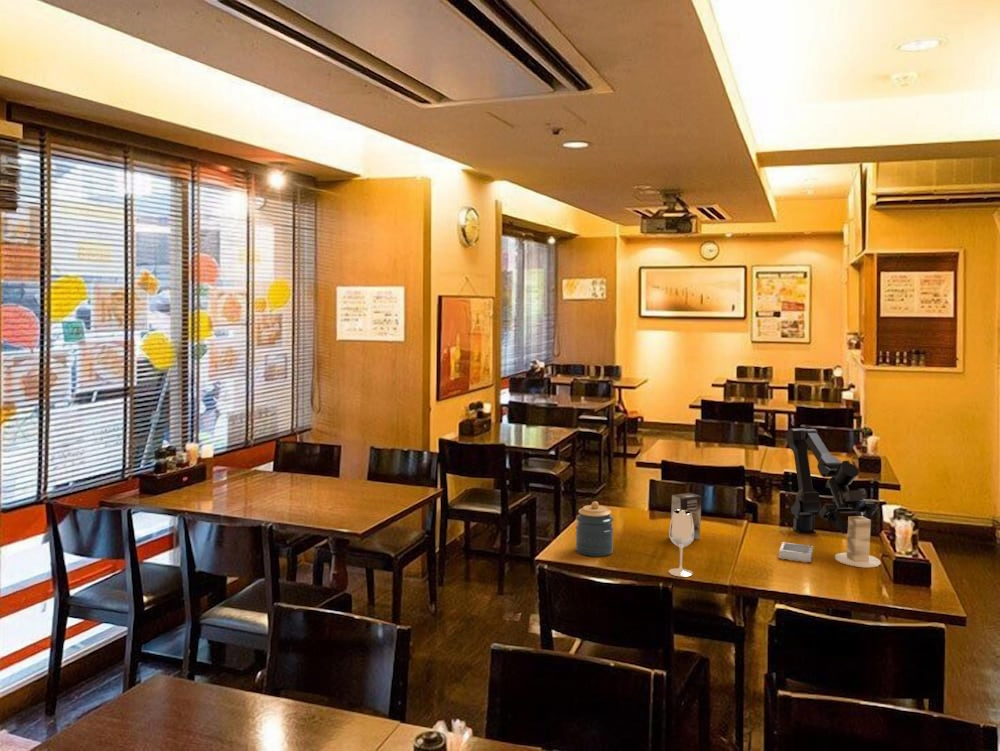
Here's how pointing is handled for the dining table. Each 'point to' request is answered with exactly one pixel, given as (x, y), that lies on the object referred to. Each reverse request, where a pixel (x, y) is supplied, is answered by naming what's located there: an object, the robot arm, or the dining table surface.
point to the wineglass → (681, 537)
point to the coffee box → (689, 508)
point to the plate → (864, 564)
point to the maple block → (858, 538)
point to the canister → (594, 530)
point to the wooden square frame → (796, 552)
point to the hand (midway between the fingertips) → (857, 532)
